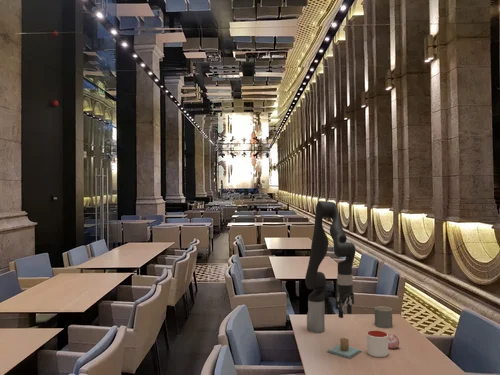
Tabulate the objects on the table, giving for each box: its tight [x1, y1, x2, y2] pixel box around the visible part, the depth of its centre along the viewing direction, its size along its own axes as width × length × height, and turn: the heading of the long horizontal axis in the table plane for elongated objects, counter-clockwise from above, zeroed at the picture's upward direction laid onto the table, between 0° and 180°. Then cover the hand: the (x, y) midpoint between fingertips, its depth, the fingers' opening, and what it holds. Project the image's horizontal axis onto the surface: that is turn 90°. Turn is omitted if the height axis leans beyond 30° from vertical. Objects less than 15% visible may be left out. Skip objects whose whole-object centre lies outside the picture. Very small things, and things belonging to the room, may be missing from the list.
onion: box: [387, 333, 400, 350], centre depth 208 cm, size 8×8×7 cm
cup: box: [366, 330, 389, 358], centre depth 200 cm, size 10×10×10 cm
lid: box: [328, 337, 361, 359], centre depth 202 cm, size 11×11×6 cm
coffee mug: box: [374, 305, 393, 329], centre depth 245 cm, size 13×10×10 cm
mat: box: [326, 350, 363, 360], centre depth 202 cm, size 13×13×1 cm
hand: (345, 315), depth 203 cm, fingers open, 8 cm apart
